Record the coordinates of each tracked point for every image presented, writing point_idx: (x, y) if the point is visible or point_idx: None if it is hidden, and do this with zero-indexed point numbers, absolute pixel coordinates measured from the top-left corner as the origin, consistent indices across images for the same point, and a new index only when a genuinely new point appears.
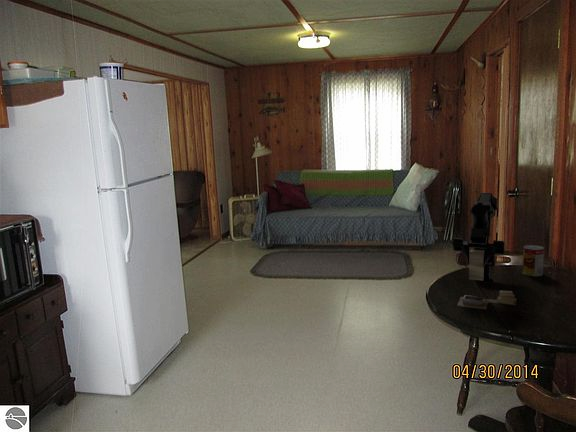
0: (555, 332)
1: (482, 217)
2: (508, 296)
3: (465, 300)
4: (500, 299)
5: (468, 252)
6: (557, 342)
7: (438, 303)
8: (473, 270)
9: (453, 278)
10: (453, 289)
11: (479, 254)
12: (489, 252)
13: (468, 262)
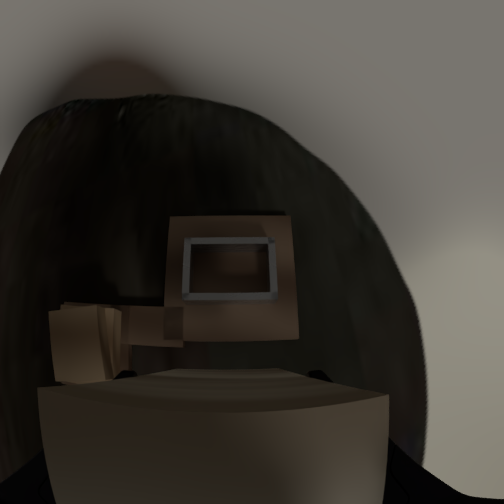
0: (27, 154)
1: None
2: (70, 309)
3: (261, 239)
4: (107, 308)
5: (387, 490)
6: (45, 113)
7: (366, 242)
8: (249, 374)
9: None
10: None
11: (138, 399)
12: (4, 482)
13: (321, 376)
